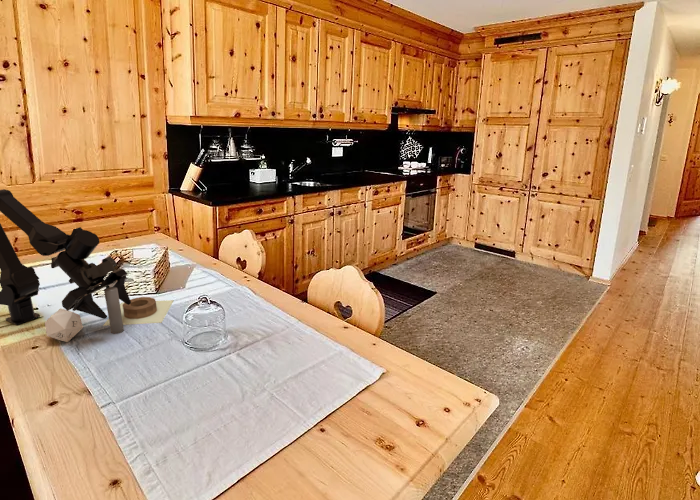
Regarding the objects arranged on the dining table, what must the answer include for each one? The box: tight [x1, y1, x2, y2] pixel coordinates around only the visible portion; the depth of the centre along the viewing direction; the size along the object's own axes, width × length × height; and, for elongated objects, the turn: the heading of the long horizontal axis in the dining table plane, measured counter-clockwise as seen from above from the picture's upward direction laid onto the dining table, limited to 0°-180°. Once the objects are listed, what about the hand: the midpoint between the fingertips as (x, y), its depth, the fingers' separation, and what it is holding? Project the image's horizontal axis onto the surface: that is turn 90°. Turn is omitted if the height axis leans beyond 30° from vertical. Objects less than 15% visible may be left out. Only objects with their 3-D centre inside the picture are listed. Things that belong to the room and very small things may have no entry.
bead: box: [123, 296, 157, 319], centre depth 135 cm, size 9×9×3 cm
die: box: [44, 308, 84, 343], centre depth 120 cm, size 8×9×10 cm
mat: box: [102, 299, 174, 327], centre depth 136 cm, size 16×16×1 cm
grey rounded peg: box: [103, 287, 125, 335], centre depth 122 cm, size 3×3×13 cm
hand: (118, 310), depth 122 cm, fingers open, 9 cm apart
